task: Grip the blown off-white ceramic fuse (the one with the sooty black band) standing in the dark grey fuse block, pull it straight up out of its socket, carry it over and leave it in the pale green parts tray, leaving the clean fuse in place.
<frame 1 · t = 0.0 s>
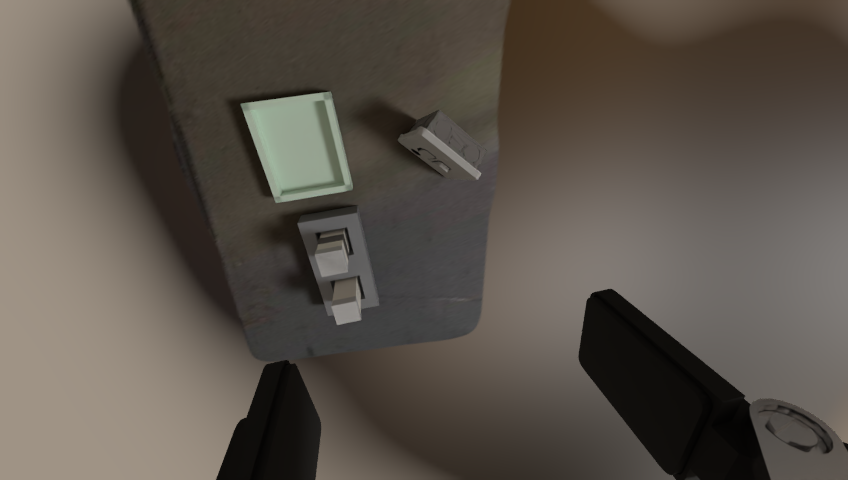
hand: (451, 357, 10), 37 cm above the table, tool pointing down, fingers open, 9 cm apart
electrical switch: (432, 142, 43), on the table
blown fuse: (336, 236, 46), resting on fuse block
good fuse: (348, 281, 50), resting on fuse block
fuse block: (342, 258, 48), on the table
parts tray: (304, 147, 41), on the table
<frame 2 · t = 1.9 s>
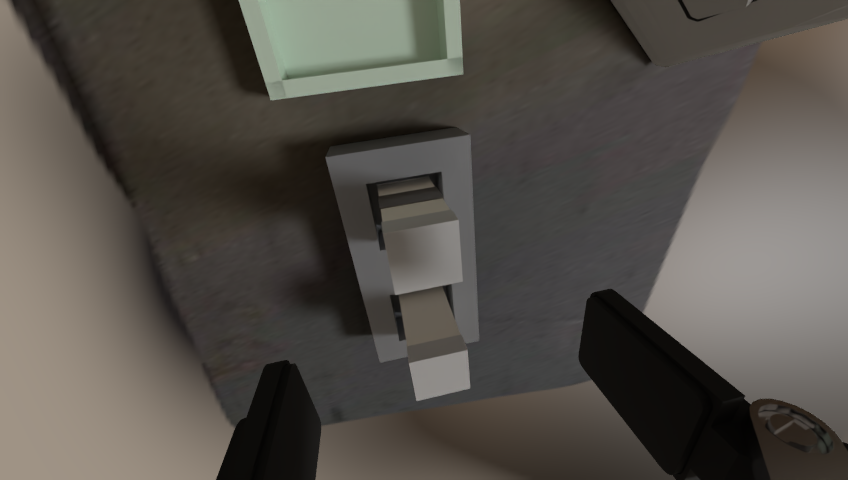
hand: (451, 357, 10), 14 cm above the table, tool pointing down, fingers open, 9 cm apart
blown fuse: (404, 198, 21), resting on fuse block
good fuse: (419, 292, 25), resting on fuse block
fuse block: (411, 246, 23), on the table
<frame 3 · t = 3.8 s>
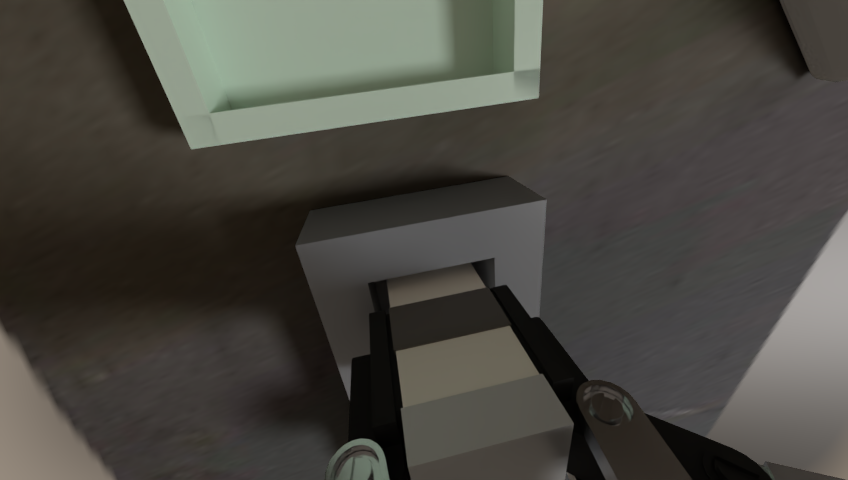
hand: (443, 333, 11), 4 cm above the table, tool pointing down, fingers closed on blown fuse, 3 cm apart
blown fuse: (426, 282, 14), point 1 cm above the table, touching fuse block, gripper
fuse block: (433, 341, 16), on the table
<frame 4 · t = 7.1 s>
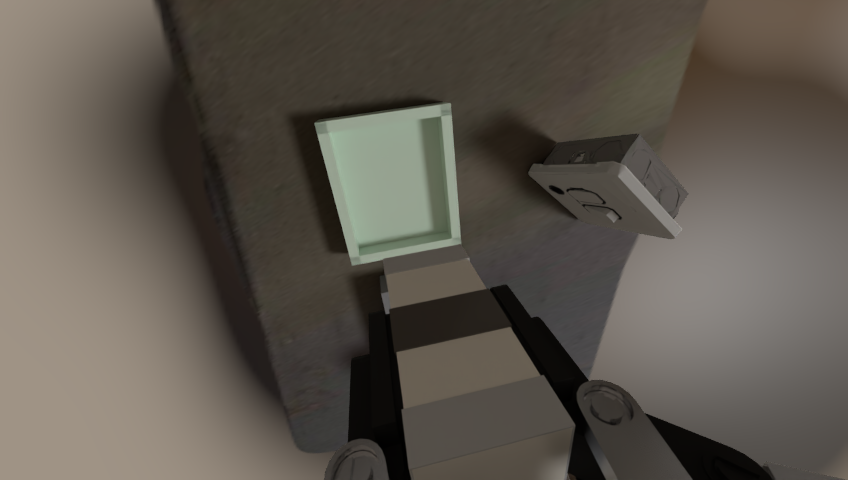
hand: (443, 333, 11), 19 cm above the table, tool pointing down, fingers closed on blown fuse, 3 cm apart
electrical switch: (570, 173, 30), on the table
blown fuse: (426, 283, 14), point 15 cm above the table, touching gripper
parts tray: (394, 184, 27), on the table
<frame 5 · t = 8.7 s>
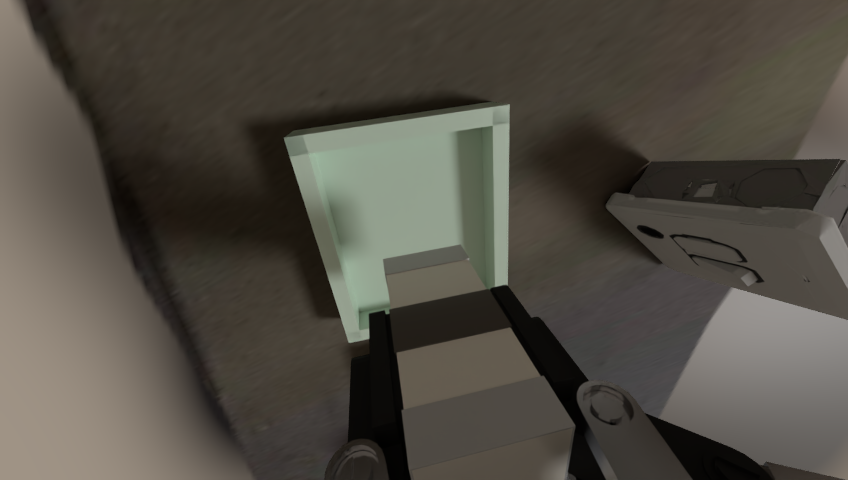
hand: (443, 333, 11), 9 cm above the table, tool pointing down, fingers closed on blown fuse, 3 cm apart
electrical switch: (661, 204, 21), on the table
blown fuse: (426, 284, 14), point 6 cm above the table, touching gripper
parts tray: (412, 223, 18), on the table
when the fingers open (5 cm above the table, at t = 10.2 s): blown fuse stays where it is, resting on parts tray.
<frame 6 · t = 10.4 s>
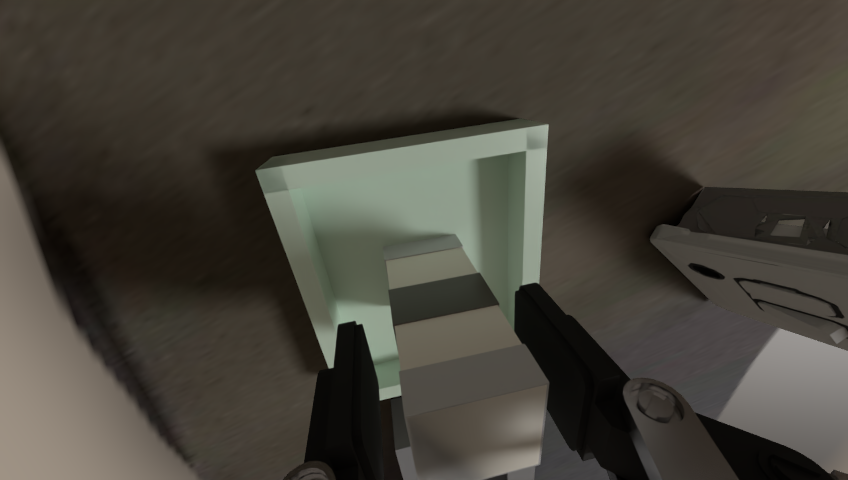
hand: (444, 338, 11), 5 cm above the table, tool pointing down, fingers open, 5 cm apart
electrical switch: (711, 234, 18), on the table
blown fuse: (423, 271, 15), point 1 cm above the table, touching parts tray
fuse block: (462, 457, 23), on the table
parts tray: (420, 264, 15), on the table
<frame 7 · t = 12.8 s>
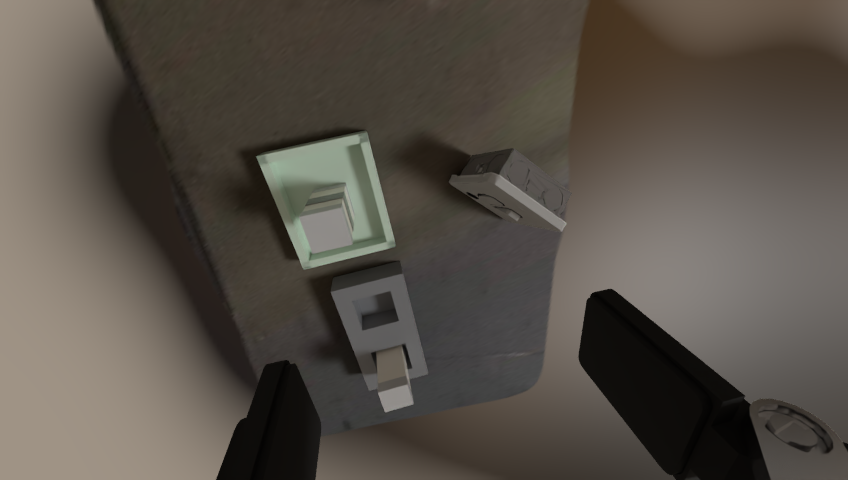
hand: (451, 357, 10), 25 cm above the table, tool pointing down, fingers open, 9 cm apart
electrical switch: (489, 180, 35), on the table
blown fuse: (334, 201, 32), point 1 cm above the table, touching parts tray
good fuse: (390, 346, 42), resting on fuse block
fuse block: (383, 321, 40), on the table
parts tray: (334, 199, 33), on the table
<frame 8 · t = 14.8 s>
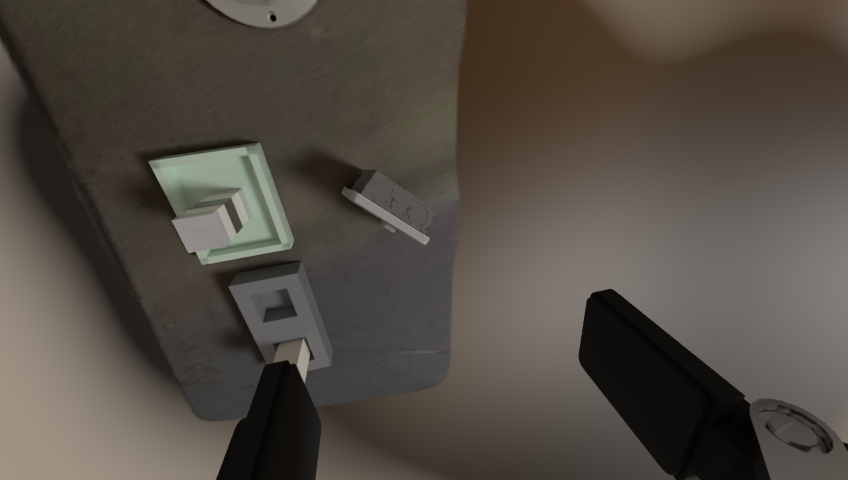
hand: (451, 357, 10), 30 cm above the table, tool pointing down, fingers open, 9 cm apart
electrical switch: (383, 193, 39), on the table
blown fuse: (232, 204, 35), point 1 cm above the table, touching parts tray
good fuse: (297, 338, 45), resting on fuse block
fuse block: (289, 315, 44), on the table
parts tray: (233, 202, 36), on the table
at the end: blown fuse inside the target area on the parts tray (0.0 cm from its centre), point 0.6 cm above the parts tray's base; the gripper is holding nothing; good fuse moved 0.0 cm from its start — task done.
